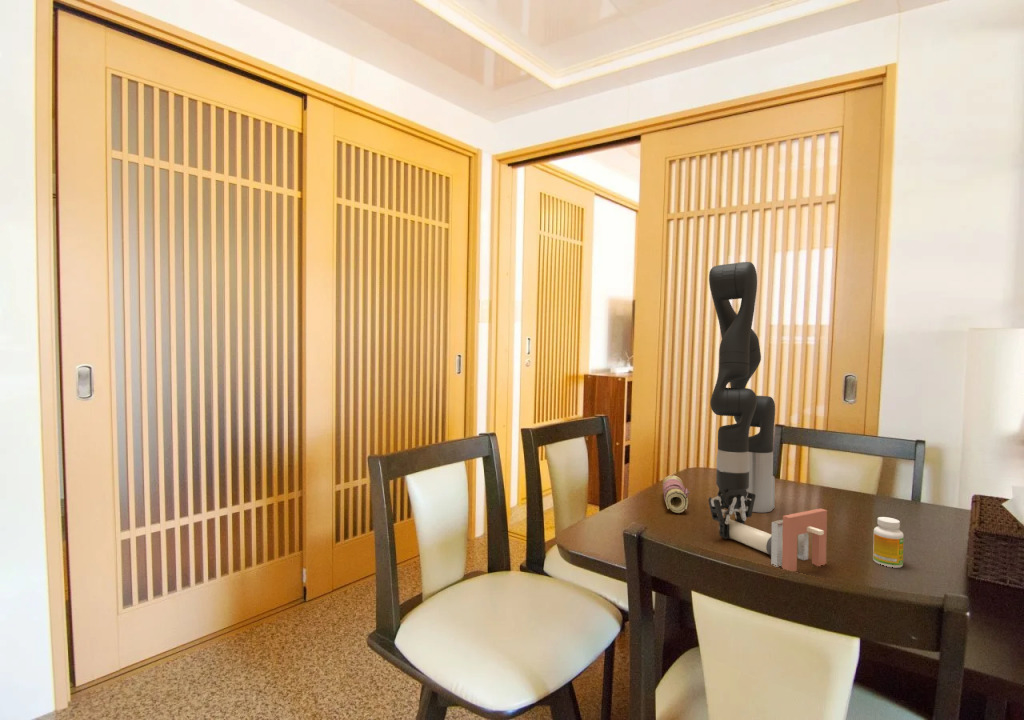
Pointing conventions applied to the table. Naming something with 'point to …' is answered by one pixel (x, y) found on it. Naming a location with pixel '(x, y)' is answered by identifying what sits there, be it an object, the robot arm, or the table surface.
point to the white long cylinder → (750, 536)
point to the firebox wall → (800, 525)
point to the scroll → (675, 494)
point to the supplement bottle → (888, 543)
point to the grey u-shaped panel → (777, 544)
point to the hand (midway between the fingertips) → (731, 535)
